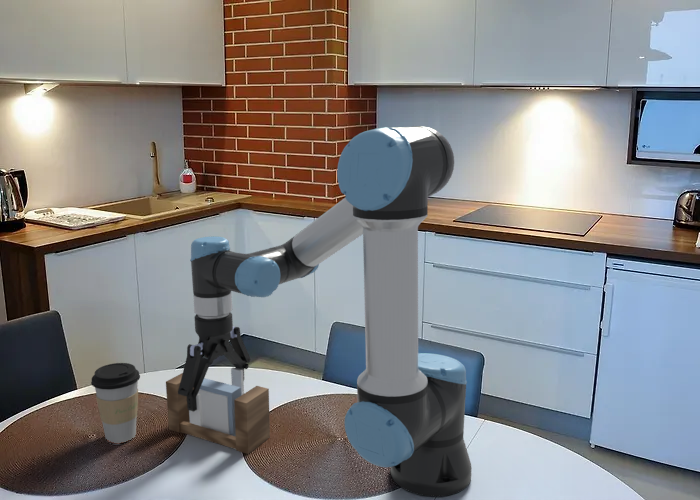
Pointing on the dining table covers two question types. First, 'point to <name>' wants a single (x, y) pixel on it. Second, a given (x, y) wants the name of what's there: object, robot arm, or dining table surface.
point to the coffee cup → (117, 400)
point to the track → (248, 418)
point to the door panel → (219, 405)
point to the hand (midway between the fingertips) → (218, 409)
